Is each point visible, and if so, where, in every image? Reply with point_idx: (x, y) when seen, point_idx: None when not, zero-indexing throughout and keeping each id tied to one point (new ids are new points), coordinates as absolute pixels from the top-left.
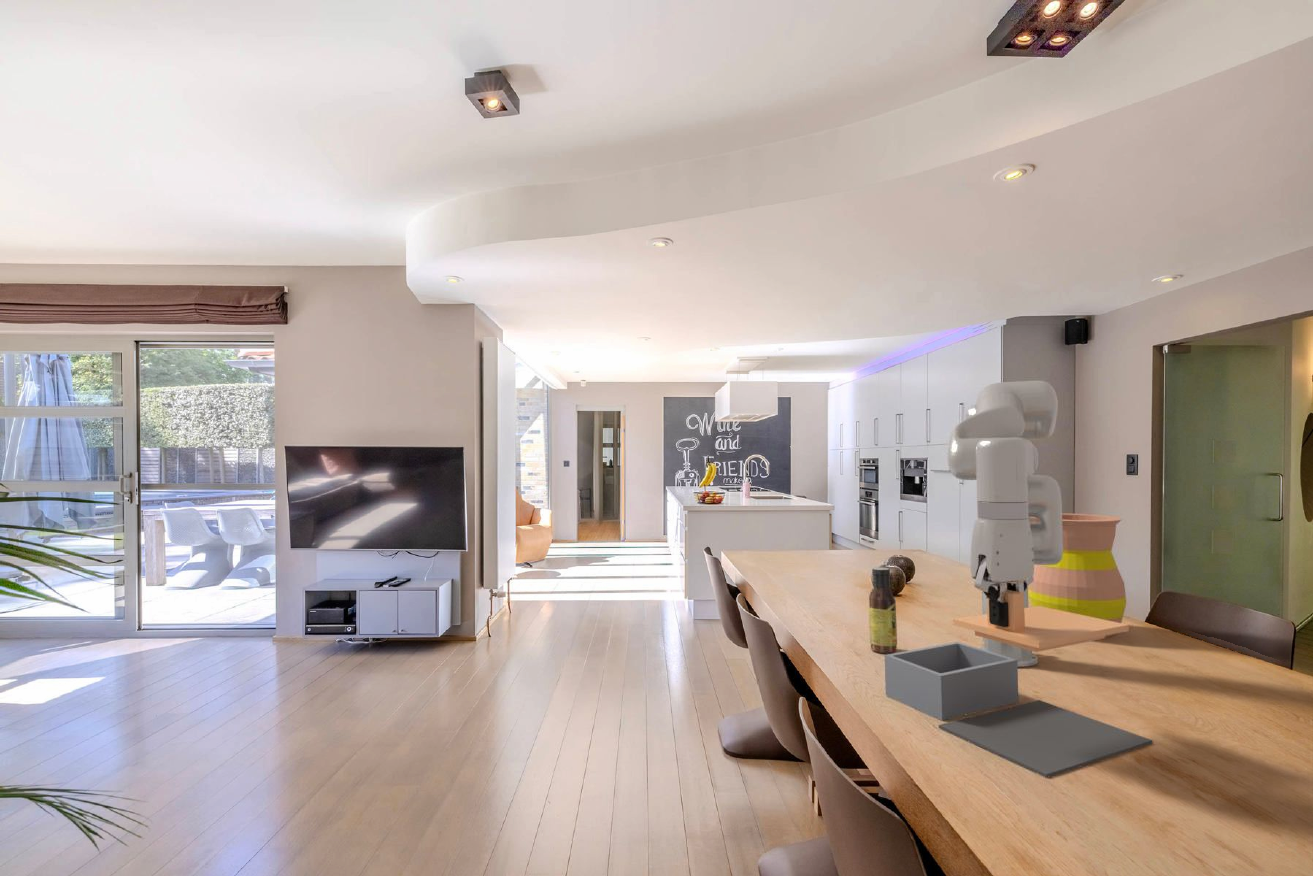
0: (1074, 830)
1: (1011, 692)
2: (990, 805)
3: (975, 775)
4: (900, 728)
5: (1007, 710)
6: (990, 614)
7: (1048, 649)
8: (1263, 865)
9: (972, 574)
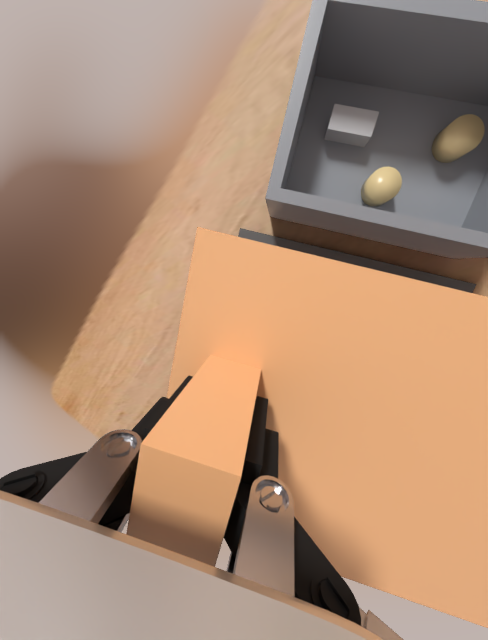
0: (135, 421)
1: (446, 253)
2: (115, 361)
3: (155, 327)
4: (197, 191)
5: (380, 269)
6: (157, 403)
7: None
8: None
9: None
